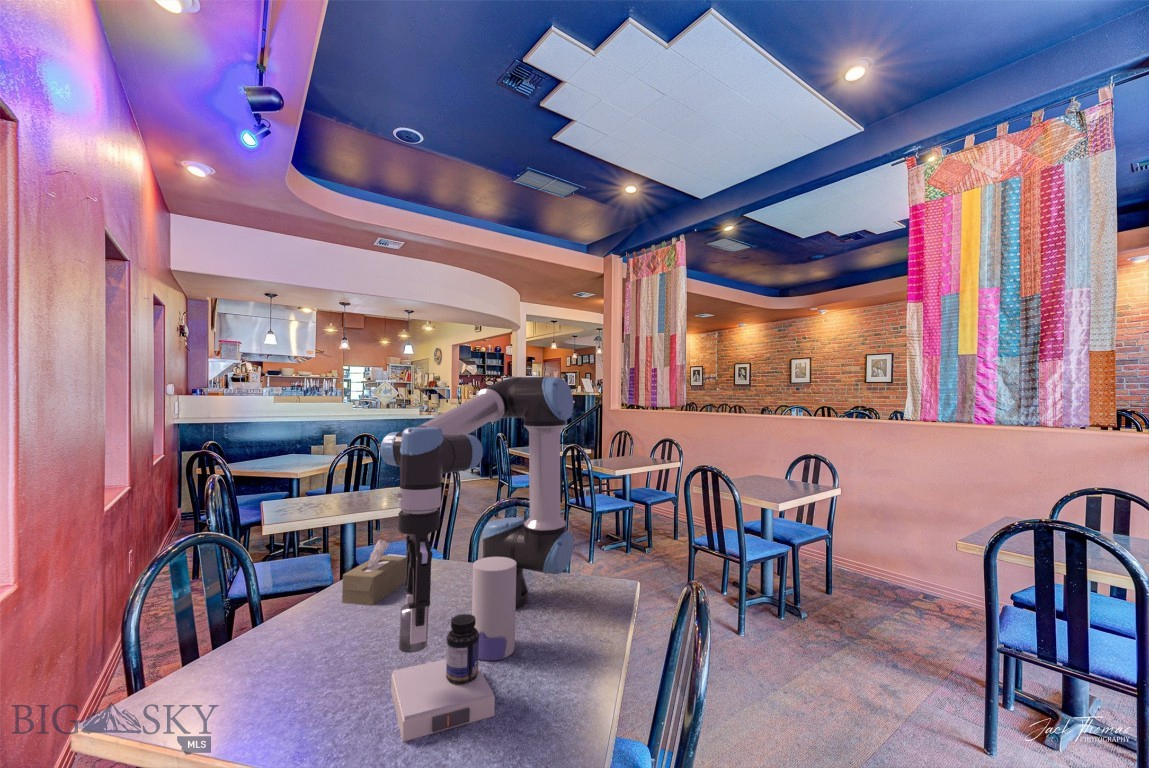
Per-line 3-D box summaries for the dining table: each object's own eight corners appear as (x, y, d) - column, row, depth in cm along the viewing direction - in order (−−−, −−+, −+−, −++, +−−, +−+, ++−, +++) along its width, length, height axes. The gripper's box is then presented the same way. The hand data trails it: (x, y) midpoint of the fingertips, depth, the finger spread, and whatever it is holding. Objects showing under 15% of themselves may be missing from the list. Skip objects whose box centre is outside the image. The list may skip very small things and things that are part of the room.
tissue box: (372, 606, 136) (374, 549, 136) (340, 603, 137) (342, 546, 138) (406, 582, 154) (408, 531, 155) (378, 579, 156) (379, 529, 156)
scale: (471, 672, 104) (471, 652, 104) (495, 718, 89) (496, 695, 89) (391, 691, 96) (391, 670, 96) (403, 744, 81) (404, 720, 81)
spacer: (424, 637, 94) (426, 600, 94) (429, 649, 90) (431, 610, 90) (397, 642, 92) (399, 604, 92) (400, 654, 87) (402, 614, 88)
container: (521, 644, 116) (523, 558, 117) (502, 665, 107) (504, 572, 107) (484, 636, 119) (486, 553, 120) (462, 656, 110) (464, 566, 111)
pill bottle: (467, 664, 99) (468, 609, 100) (484, 676, 95) (485, 619, 95) (439, 676, 95) (441, 618, 95) (456, 689, 90) (458, 629, 91)
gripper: (392, 501, 98) (388, 619, 97) (405, 521, 82) (401, 662, 81) (430, 499, 102) (427, 612, 101) (450, 518, 86) (446, 653, 85)
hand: (415, 634), depth 91 cm, fingers closed on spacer, 5 cm apart
